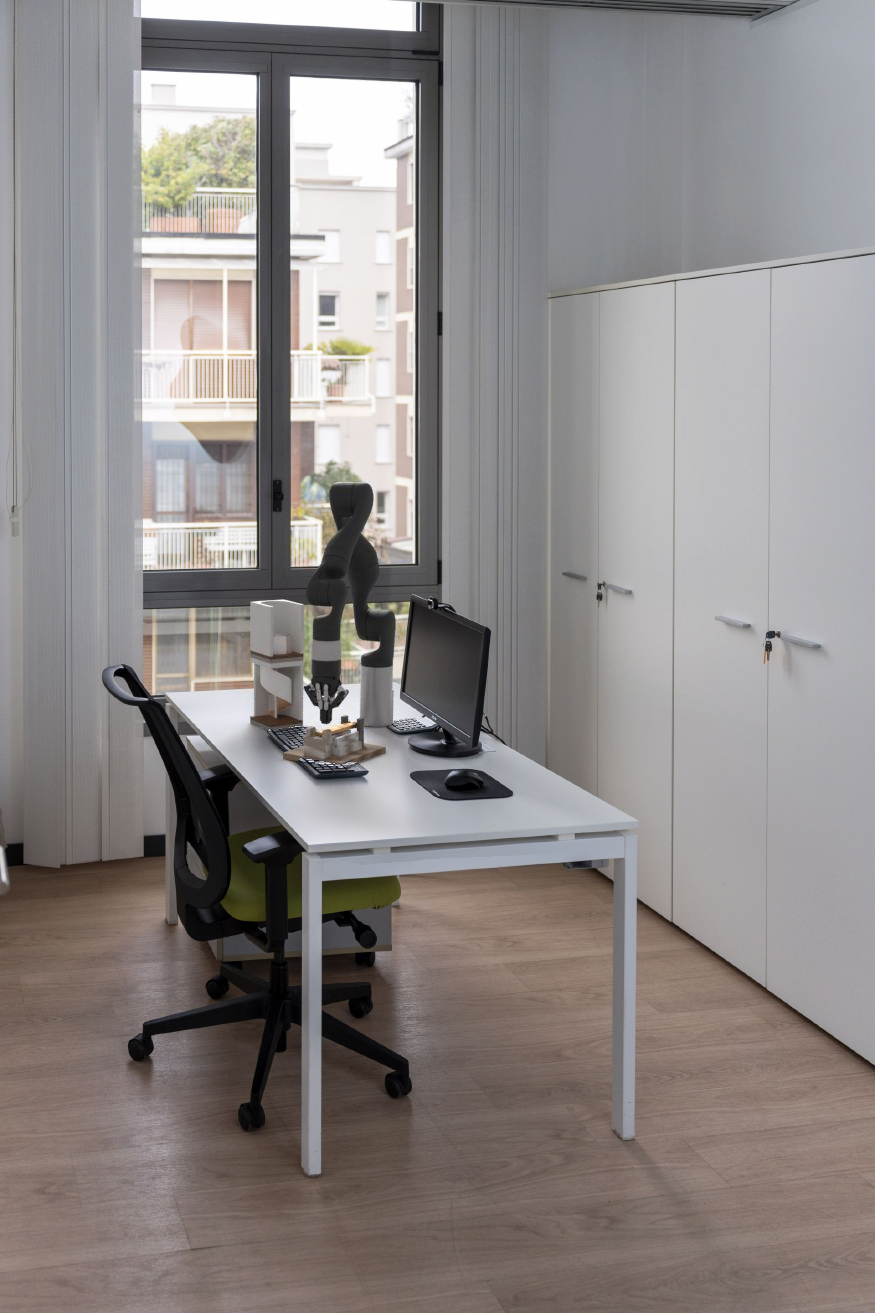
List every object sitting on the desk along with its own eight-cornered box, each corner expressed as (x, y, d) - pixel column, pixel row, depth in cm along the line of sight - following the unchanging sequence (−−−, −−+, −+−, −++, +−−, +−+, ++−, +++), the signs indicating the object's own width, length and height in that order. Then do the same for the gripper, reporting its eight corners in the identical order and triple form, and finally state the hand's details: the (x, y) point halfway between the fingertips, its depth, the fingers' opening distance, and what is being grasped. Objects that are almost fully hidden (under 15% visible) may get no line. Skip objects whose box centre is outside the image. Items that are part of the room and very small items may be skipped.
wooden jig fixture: (329, 742, 358) (329, 711, 356) (385, 752, 349) (386, 720, 348) (282, 758, 340) (283, 725, 338) (341, 769, 331) (341, 735, 330)
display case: (250, 723, 378) (250, 601, 372) (282, 719, 384) (283, 599, 378) (269, 731, 369) (270, 606, 363) (302, 727, 375) (303, 604, 369)
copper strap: (349, 726, 352) (349, 720, 351) (358, 727, 350) (358, 721, 350) (314, 736, 338) (315, 730, 338) (324, 738, 337) (324, 732, 336)
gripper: (356, 657, 336) (355, 724, 339) (313, 652, 342) (313, 717, 345) (339, 662, 330) (339, 729, 333) (296, 656, 336) (296, 722, 339)
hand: (325, 723), depth 339 cm, fingers closed
